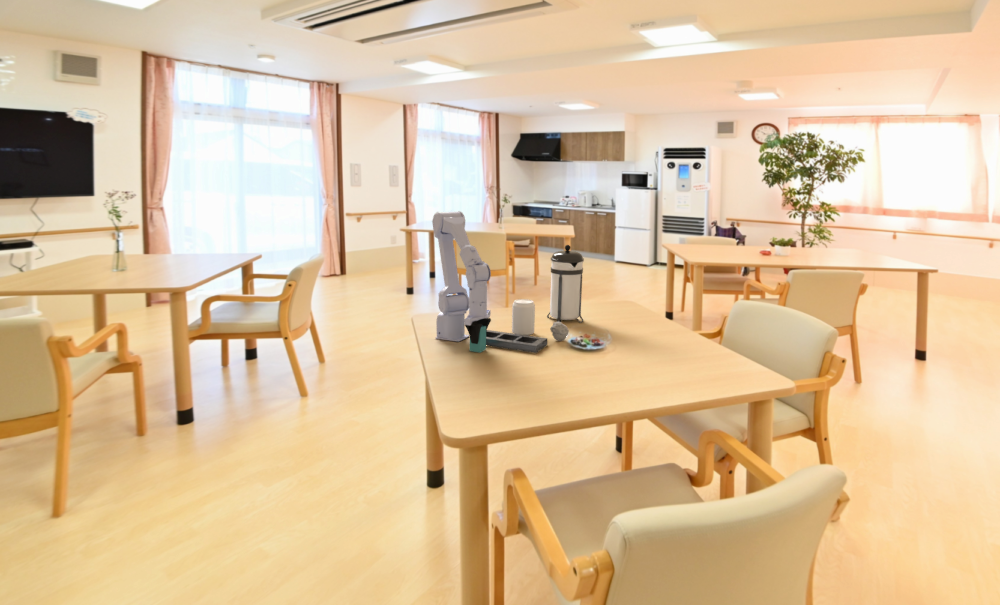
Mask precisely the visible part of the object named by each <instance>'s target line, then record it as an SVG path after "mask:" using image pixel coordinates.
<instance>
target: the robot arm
mask: <svg viewBox="0 0 1000 605" xmlns="http://www.w3.org/2000/svg"><path fill="white" fill-rule="evenodd" d="M431 222H432V230H433V234H434V237H435V238H436V239H437V242H438V248H439V254H440V261H441V268H442V275H443V281H444V287H443V288H442V289H441V290H440V291H439V293H438V309H439V311H440V312H439V313H438V315H437V317H436V336H435V339H437V340H445V341H451V342H456V343H459V342H461V341H463V340H465V339H467V338H468V337H469V341H470V340H471V343H473V344H478V341H479V333H480V329H481V326H486V331H487V330H488V327H489V325H490V323H491V322H492V319H491V318H490V317H491V313H492V312H491V309H488V282H489V281H490V279H491V277H492V276H491V275H492V273H491V268H490V265H489V264H488V263H487V262H485V261H484V260H483V259H482V257H481V256H480V254H479V252H478V250H477V247H476V246H474V245H471V242H470V240H469V236H468V235H467V231H466V217H465V215H464V213H463V212H462V211H461V210H458V211H443V212H442V211H441V212H440V211H436V212H435V213H434V215H433V217H432V220H431ZM454 241H455V242H456V244H457V246H458V247H459V249H460V251H459V257H460V259H461V261H462V263H463V265H464V267H465V269H466V271H465V278H466V281H467V287H468V290H467V289H466V288H465V287H464V286H462V285H460V279H459V273H458V272H459V271H458V266H457V265H458V264H457V260H456V252H455V246H454ZM468 292H469V293H468ZM467 311H468V314H467ZM465 314H467V316H466V315H465ZM465 316H466V318H465ZM466 330H467V331H468V332H467V333H468V334H466V333H465V331H466Z"/></svg>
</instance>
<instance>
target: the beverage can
mask: <svg viewBox="0 0 1000 605" xmlns="http://www.w3.org/2000/svg"><path fill="white" fill-rule="evenodd" d="M534 302H535V301H534V300H532V299H528V298H520V299H519V298H518V299H515V300H514V301H513V303H512V305H511V306H512V308H511V309H512V311H511V312H512V315H511V318H512V319H511V333H513V334H520V335H527V336H532V335H533V334H534V333H535V319H536V318H535V316H536V315H535V314H536V304H535V303H534Z"/></svg>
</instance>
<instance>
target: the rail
mask: <svg viewBox="0 0 1000 605" xmlns="http://www.w3.org/2000/svg"><path fill="white" fill-rule="evenodd" d="M486 345H487V346H486V347H491V346H492V348H499V349H507V350H512V351H520V352H524V353H531V354H537V353H539V352H540V351H542V350H543V349H544V348H545V347H547V346H548V338H547V337H543V336H542V337H541V336H540V337H539V336H532V335H520V334H514V333H513V332H506V331H498V330H493V329H492V330H490V329H487V331H486Z"/></svg>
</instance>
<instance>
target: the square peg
mask: <svg viewBox="0 0 1000 605" xmlns="http://www.w3.org/2000/svg"><path fill="white" fill-rule="evenodd" d="M486 350H487V346H486V326H481V329H480V333H479V341H478V344H473V343H471V340H470V339H469V352H474V353H479V354H480V353H482V352H484V351H486Z"/></svg>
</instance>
